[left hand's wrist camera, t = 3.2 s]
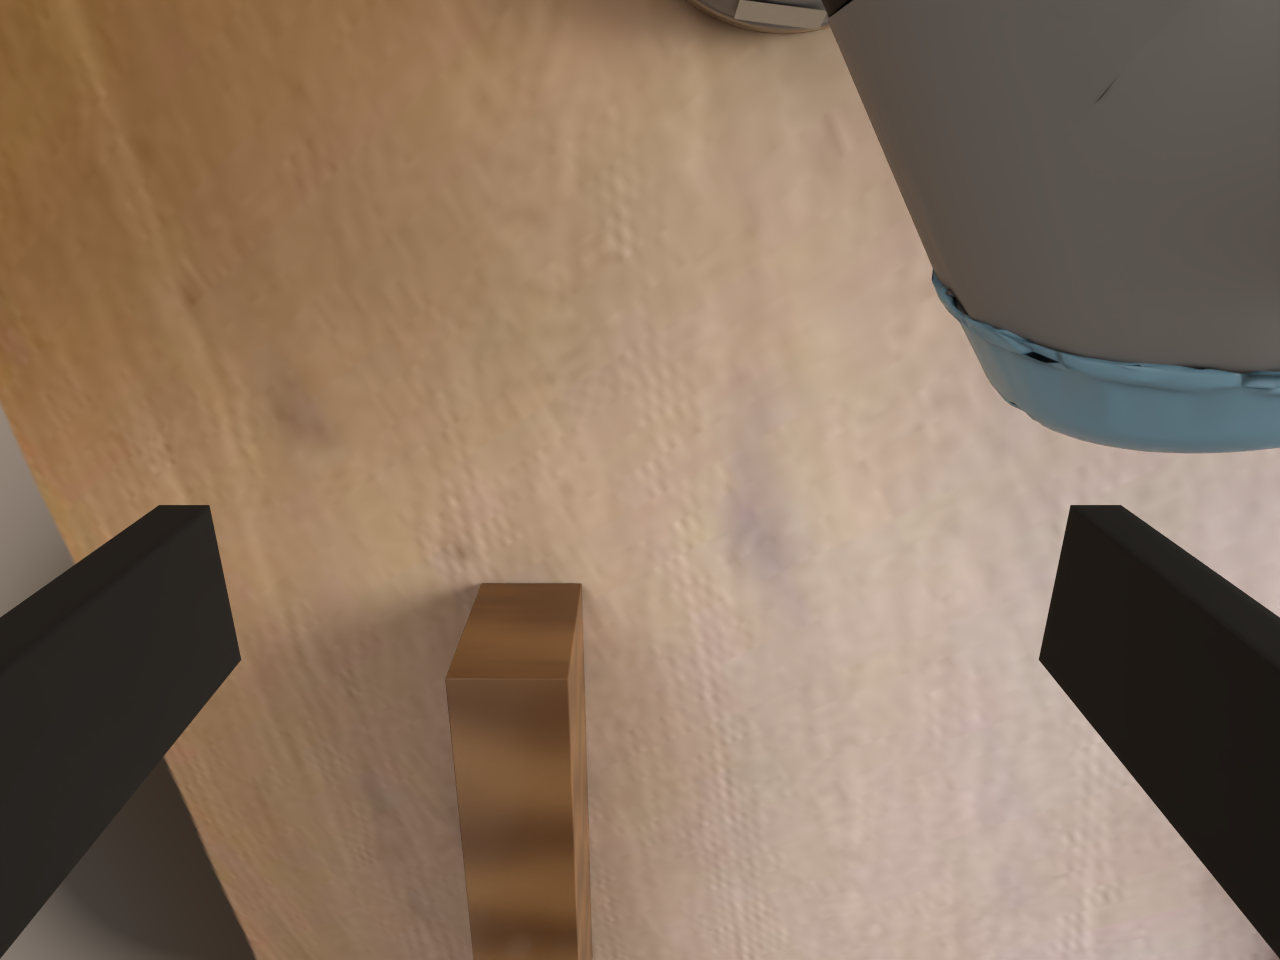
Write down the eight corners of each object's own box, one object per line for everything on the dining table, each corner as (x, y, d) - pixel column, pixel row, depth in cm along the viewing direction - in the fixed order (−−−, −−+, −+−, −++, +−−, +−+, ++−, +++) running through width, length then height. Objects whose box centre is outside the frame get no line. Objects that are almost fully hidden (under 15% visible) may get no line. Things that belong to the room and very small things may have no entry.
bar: (481, 583, 44) (445, 678, 35) (581, 583, 44) (568, 678, 35) (510, 958, 54) (487, 1099, 45) (592, 958, 54) (583, 1099, 45)
